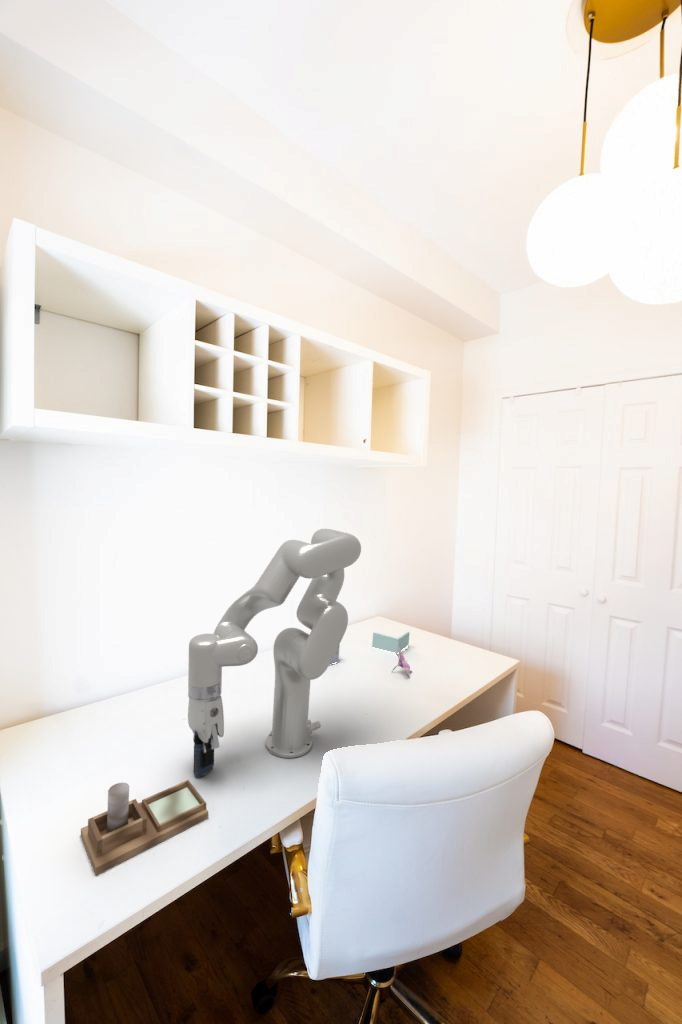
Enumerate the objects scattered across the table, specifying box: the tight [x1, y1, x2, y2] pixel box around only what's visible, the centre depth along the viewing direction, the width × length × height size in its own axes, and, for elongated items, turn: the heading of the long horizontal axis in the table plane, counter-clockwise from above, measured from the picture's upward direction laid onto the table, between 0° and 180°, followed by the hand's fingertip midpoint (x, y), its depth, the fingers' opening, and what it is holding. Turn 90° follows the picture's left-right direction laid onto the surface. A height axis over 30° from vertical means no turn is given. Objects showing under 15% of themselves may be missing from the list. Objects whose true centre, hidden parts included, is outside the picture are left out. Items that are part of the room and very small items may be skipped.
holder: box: [80, 779, 209, 876], centre depth 87 cm, size 21×11×10 cm, turn 133°
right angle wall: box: [371, 631, 410, 653], centre depth 191 cm, size 12×12×8 cm
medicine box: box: [330, 643, 341, 664], centre depth 174 cm, size 8×4×9 cm, turn 40°
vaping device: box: [192, 731, 215, 778], centre depth 103 cm, size 3×5×12 cm, turn 144°
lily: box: [392, 645, 411, 674], centre depth 166 cm, size 12×12×10 cm
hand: (203, 760), depth 104 cm, fingers closed on vaping device, 2 cm apart
